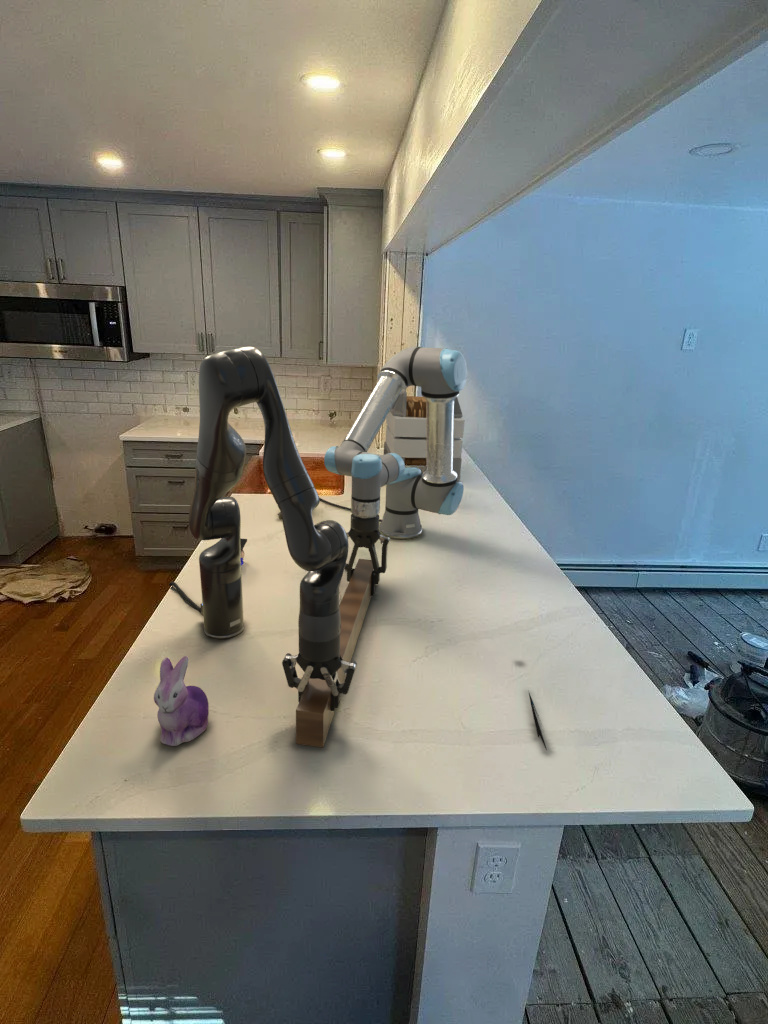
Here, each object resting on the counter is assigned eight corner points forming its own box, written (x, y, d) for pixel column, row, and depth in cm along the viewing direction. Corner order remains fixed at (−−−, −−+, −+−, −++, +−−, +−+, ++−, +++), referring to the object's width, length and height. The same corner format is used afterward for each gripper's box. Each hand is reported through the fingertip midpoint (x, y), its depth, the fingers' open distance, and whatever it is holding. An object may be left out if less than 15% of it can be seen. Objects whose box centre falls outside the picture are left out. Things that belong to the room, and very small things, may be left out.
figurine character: (238, 584, 162) (249, 557, 175) (236, 562, 158) (247, 536, 172) (215, 584, 161) (227, 556, 175) (212, 561, 158) (225, 535, 171)
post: (358, 582, 163) (358, 558, 161) (375, 583, 163) (376, 560, 160) (296, 743, 102) (295, 710, 100) (323, 747, 102) (323, 713, 99)
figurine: (161, 756, 98) (153, 683, 93) (154, 719, 106) (146, 651, 101) (216, 740, 102) (211, 669, 97) (205, 705, 111) (200, 639, 106)
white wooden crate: (382, 463, 289) (386, 382, 275) (445, 464, 293) (451, 384, 279) (390, 482, 257) (394, 392, 243) (460, 483, 261) (468, 394, 247)
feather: (520, 667, 129) (525, 661, 129) (546, 754, 103) (553, 747, 102) (514, 663, 129) (519, 657, 129) (538, 750, 103) (545, 742, 102)
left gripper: (274, 635, 99) (276, 715, 105) (355, 644, 98) (352, 724, 104) (286, 614, 106) (288, 689, 112) (362, 622, 105) (359, 698, 111)
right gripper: (328, 515, 146) (327, 596, 154) (398, 521, 144) (393, 602, 152) (334, 506, 153) (333, 583, 161) (401, 511, 151) (396, 589, 159)
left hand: (319, 706), depth 108 cm, fingers closed on post, 5 cm apart
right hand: (362, 592), depth 156 cm, fingers closed on post, 5 cm apart
